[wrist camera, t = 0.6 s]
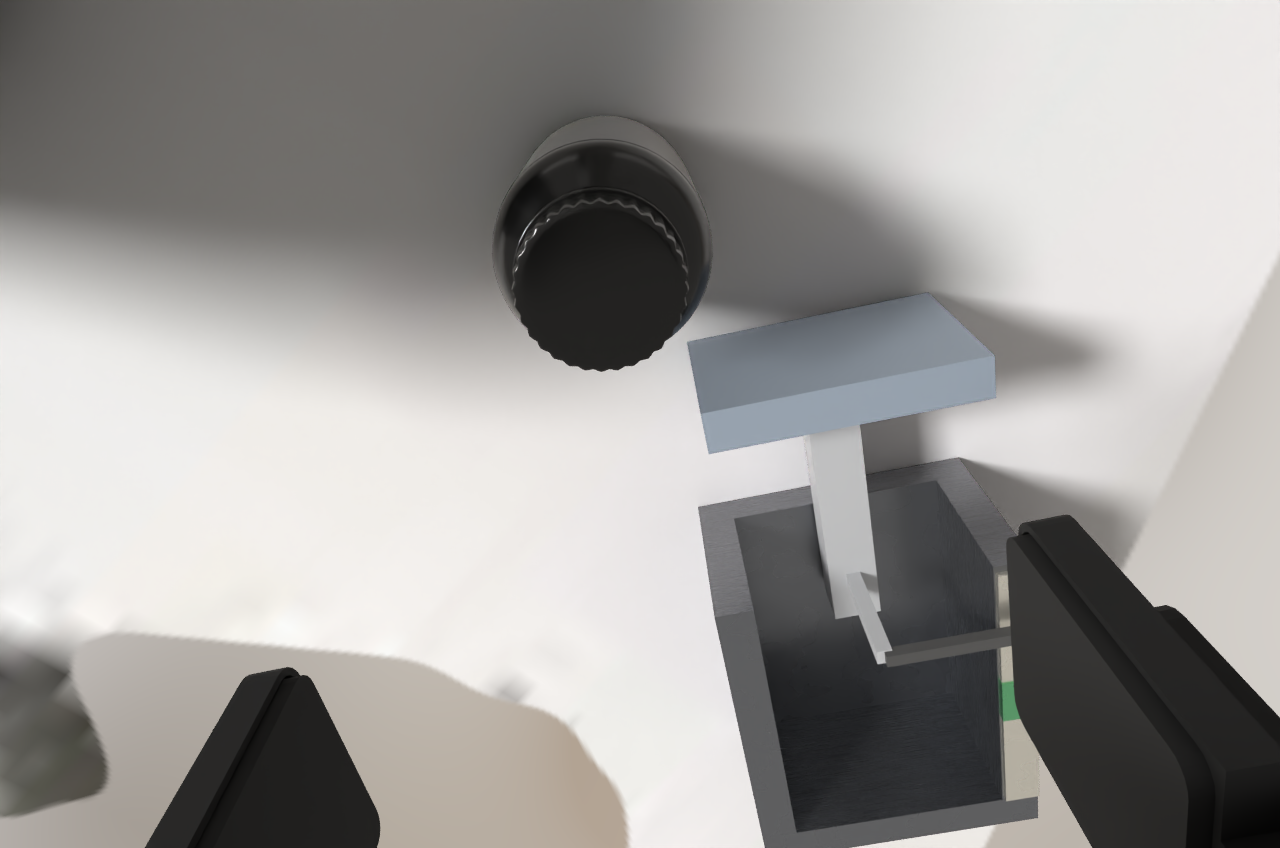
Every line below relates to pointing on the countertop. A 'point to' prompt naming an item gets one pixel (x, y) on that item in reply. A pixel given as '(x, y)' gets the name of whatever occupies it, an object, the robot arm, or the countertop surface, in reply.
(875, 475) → the box
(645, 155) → the supplement bottle
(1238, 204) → the countertop surface
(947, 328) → the gauge plunger
